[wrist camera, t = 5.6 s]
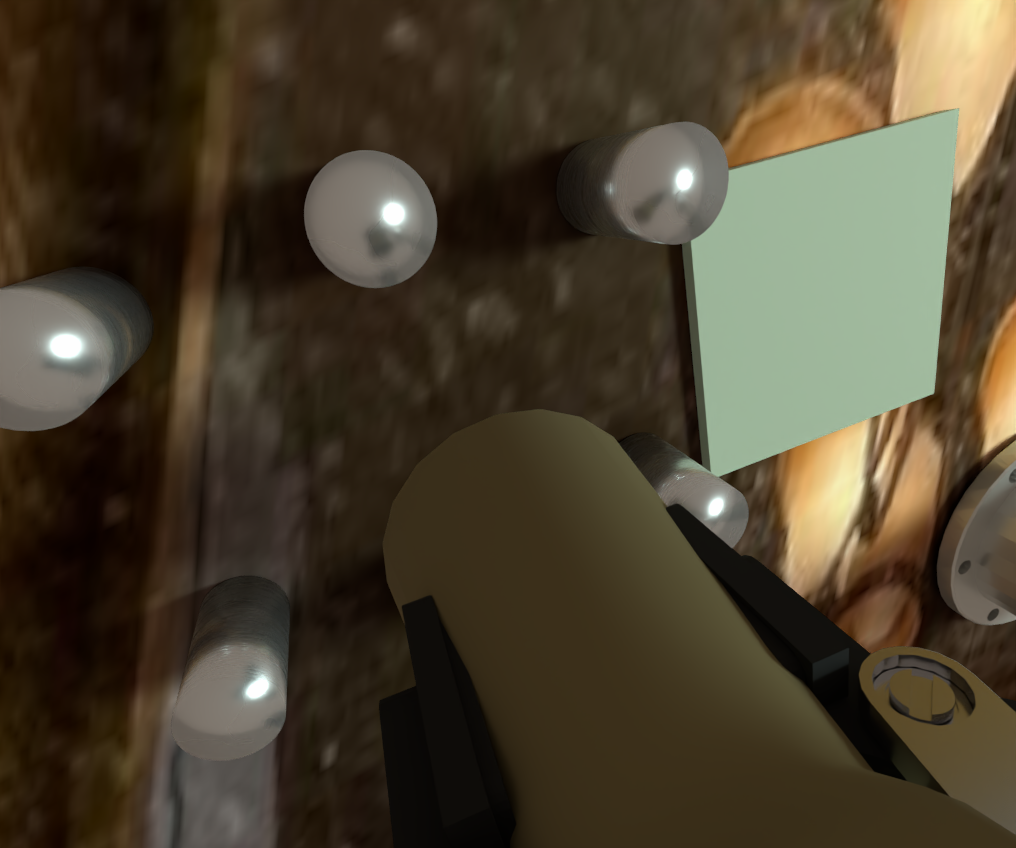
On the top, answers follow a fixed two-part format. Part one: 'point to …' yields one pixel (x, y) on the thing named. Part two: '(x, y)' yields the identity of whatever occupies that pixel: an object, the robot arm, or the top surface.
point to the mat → (820, 289)
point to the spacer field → (368, 263)
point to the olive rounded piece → (629, 662)
